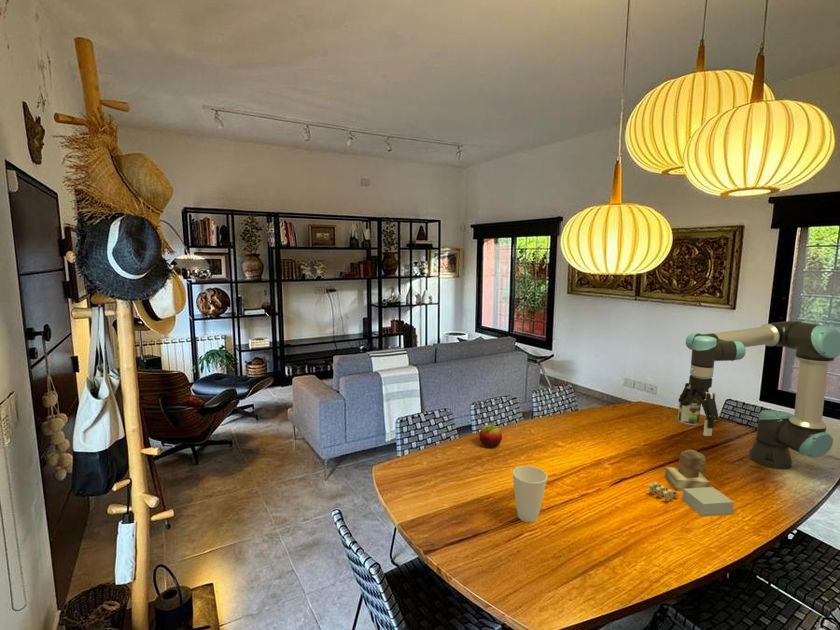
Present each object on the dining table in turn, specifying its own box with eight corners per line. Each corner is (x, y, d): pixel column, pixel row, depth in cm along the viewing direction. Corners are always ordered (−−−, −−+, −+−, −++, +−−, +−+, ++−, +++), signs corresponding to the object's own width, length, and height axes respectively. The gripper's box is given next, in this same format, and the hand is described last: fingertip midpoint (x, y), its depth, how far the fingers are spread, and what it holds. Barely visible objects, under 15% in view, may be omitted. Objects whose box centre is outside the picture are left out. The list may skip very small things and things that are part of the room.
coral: (710, 472, 188) (712, 455, 186) (693, 475, 185) (695, 458, 184) (691, 462, 196) (693, 446, 195) (674, 464, 194) (676, 448, 193)
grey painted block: (710, 499, 168) (712, 486, 168) (732, 514, 159) (734, 501, 158) (682, 501, 167) (683, 488, 166) (702, 517, 157) (703, 504, 156)
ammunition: (666, 492, 163) (679, 487, 167) (648, 483, 170) (661, 478, 173) (665, 504, 164) (678, 499, 168) (647, 495, 170) (660, 489, 174)
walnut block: (689, 471, 179) (691, 452, 178) (698, 477, 174) (700, 458, 173) (678, 471, 179) (680, 453, 178) (686, 477, 174) (688, 458, 173)
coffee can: (702, 426, 237) (705, 400, 234) (681, 424, 238) (684, 399, 236) (694, 418, 247) (696, 394, 244) (674, 417, 248) (676, 393, 246)
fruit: (505, 443, 213) (505, 424, 211) (496, 452, 204) (497, 431, 202) (484, 438, 218) (485, 419, 217) (475, 446, 209) (475, 426, 208)
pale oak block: (695, 480, 182) (696, 469, 181) (708, 494, 172) (709, 482, 171) (664, 478, 183) (665, 467, 182) (675, 491, 173) (676, 479, 173)
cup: (538, 530, 148) (541, 486, 145) (505, 519, 154) (507, 476, 151) (549, 513, 158) (551, 471, 155) (517, 502, 164) (519, 462, 161)
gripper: (671, 367, 183) (667, 416, 187) (714, 386, 159) (708, 442, 162) (689, 367, 183) (684, 415, 187) (734, 386, 159) (727, 441, 162)
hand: (695, 428), depth 174 cm, fingers open, 13 cm apart
